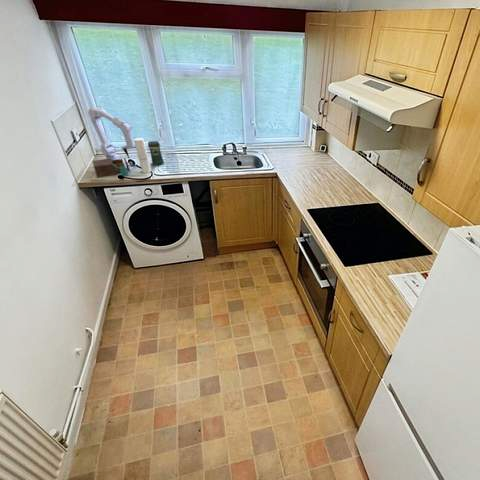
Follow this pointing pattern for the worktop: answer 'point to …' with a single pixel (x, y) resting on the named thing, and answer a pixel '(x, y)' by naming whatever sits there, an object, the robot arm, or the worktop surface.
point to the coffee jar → (155, 152)
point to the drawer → (121, 164)
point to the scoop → (122, 170)
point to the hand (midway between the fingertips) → (133, 157)
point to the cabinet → (104, 167)
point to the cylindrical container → (142, 155)
